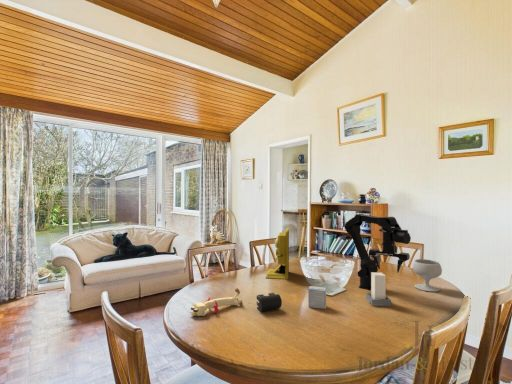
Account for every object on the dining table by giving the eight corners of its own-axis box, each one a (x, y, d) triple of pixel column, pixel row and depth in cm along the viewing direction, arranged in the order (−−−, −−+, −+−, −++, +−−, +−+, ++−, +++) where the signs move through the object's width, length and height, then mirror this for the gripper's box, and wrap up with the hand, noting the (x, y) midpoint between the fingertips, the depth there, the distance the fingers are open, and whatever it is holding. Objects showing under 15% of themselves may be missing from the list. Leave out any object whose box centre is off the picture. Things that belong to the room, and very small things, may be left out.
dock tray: (366, 298, 142) (366, 292, 142) (383, 299, 141) (384, 293, 141) (372, 305, 133) (372, 299, 133) (391, 306, 132) (391, 300, 132)
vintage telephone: (269, 267, 198) (269, 225, 198) (289, 268, 196) (289, 225, 196) (264, 281, 167) (264, 231, 167) (287, 283, 165) (288, 232, 165)
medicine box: (326, 305, 133) (326, 287, 133) (325, 309, 128) (325, 290, 128) (309, 303, 135) (309, 285, 135) (308, 307, 131) (308, 288, 131)
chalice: (414, 290, 153) (414, 263, 153) (410, 283, 166) (411, 257, 166) (444, 294, 148) (444, 266, 148) (438, 286, 161) (438, 260, 161)
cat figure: (233, 303, 139) (185, 311, 124) (234, 285, 140) (187, 291, 125) (244, 309, 131) (195, 320, 116) (246, 291, 132) (197, 298, 117)
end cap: (261, 314, 123) (261, 299, 123) (255, 308, 130) (255, 294, 130) (281, 311, 127) (282, 296, 127) (275, 305, 133) (275, 291, 133)
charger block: (371, 298, 140) (371, 272, 140) (381, 298, 139) (381, 272, 139) (374, 302, 135) (374, 275, 135) (385, 302, 134) (385, 275, 134)
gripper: (412, 240, 146) (412, 270, 146) (375, 237, 158) (375, 264, 158) (407, 243, 137) (406, 275, 137) (368, 239, 150) (368, 268, 150)
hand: (388, 270), depth 146 cm, fingers open, 9 cm apart
